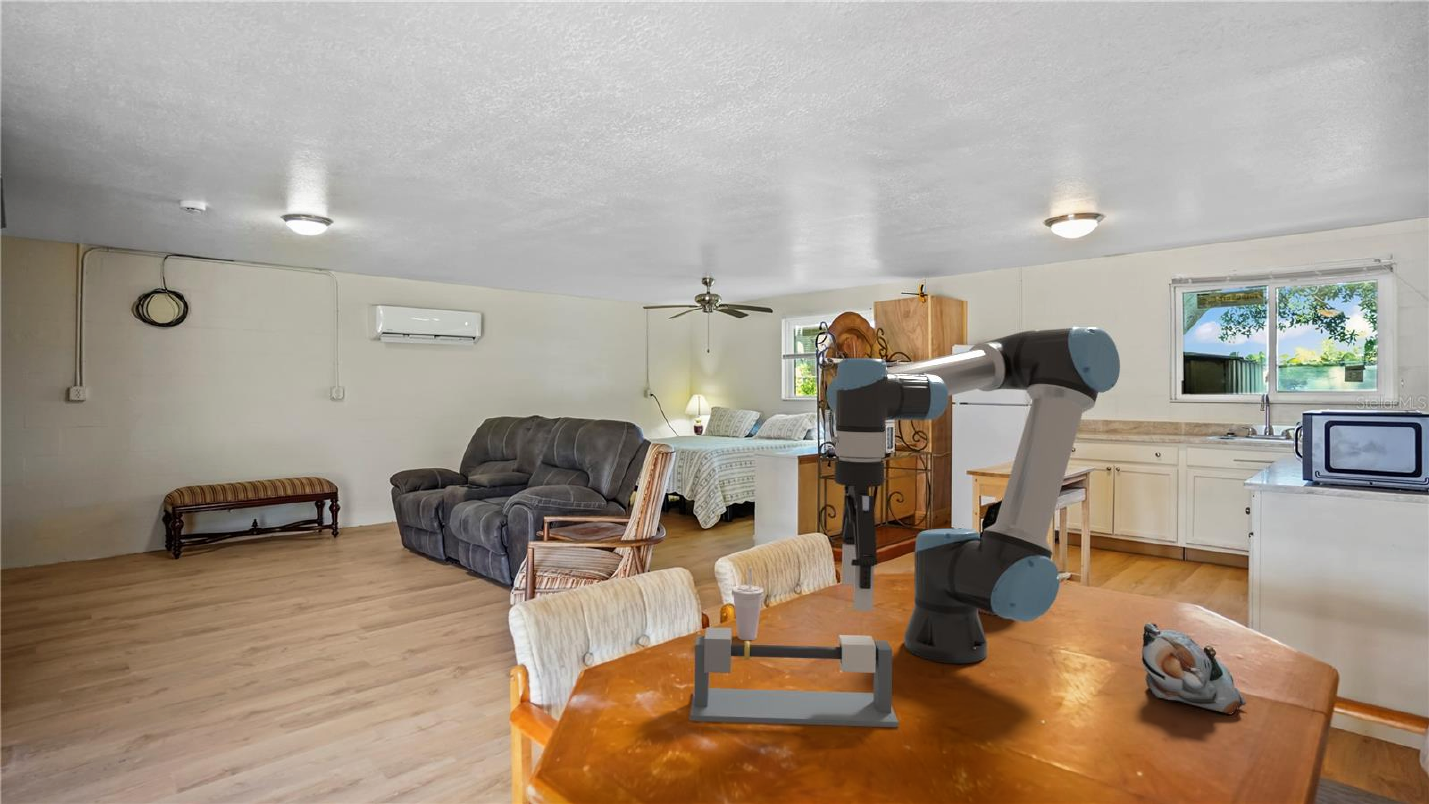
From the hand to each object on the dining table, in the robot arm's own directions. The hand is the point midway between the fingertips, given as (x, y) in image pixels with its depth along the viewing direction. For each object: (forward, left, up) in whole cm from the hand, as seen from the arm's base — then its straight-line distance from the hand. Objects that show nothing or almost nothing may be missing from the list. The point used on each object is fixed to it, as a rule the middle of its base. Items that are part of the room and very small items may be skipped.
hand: (856, 596), depth 112 cm
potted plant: (-39, -54, -18) cm, 69 cm away
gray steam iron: (-55, -8, -18) cm, 58 cm away
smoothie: (+17, -32, -18) cm, 40 cm away
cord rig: (+10, 0, -18) cm, 20 cm away
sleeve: (0, 0, -11) cm, 11 cm away
